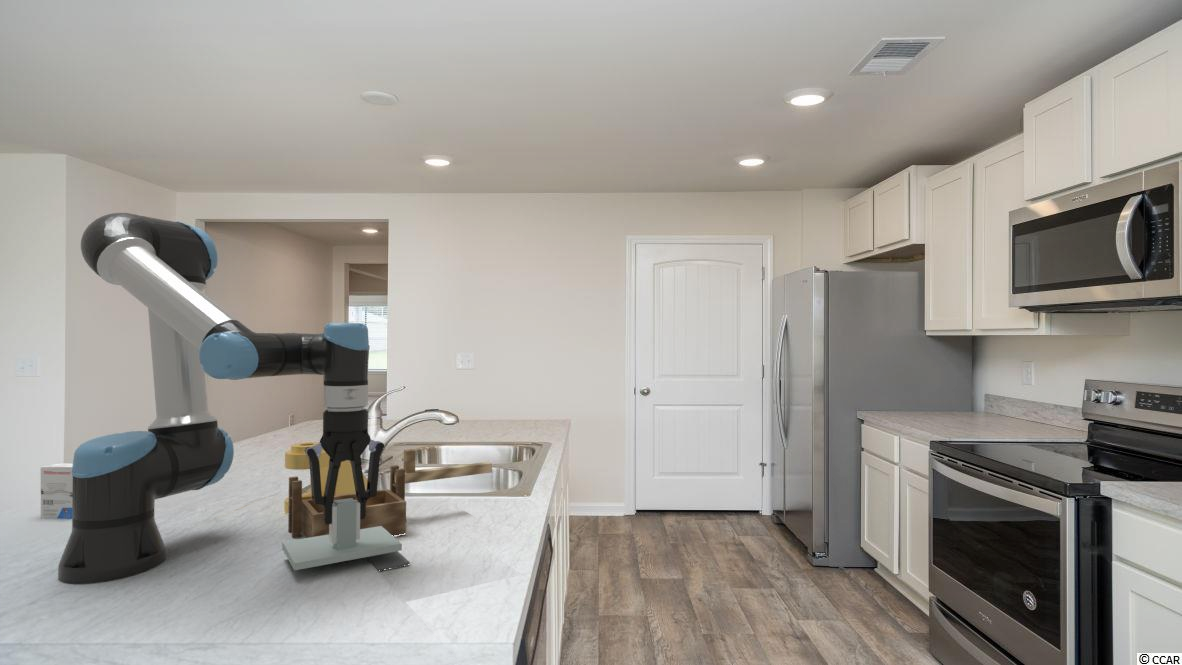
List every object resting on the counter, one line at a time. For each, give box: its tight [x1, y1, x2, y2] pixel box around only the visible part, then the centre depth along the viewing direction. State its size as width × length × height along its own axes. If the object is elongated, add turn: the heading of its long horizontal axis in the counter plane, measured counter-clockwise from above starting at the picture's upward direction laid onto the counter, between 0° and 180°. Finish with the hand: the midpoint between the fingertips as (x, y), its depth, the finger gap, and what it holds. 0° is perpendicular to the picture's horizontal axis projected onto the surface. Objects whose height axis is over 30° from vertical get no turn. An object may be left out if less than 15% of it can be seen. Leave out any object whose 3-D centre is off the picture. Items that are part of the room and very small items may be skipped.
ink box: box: [40, 462, 73, 520], centre depth 143 cm, size 9×5×12 cm, turn 84°
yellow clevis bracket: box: [283, 441, 368, 515], centre depth 152 cm, size 20×9×16 cm, turn 152°
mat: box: [364, 551, 411, 572], centre depth 114 cm, size 20×15×1 cm
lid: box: [281, 498, 403, 571], centre depth 114 cm, size 18×13×9 cm
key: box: [395, 448, 493, 484], centre depth 147 cm, size 23×2×7 cm, turn 124°
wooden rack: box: [287, 464, 407, 539], centre depth 131 cm, size 23×14×12 cm, turn 124°
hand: (344, 539), depth 112 cm, fingers closed on lid, 3 cm apart
